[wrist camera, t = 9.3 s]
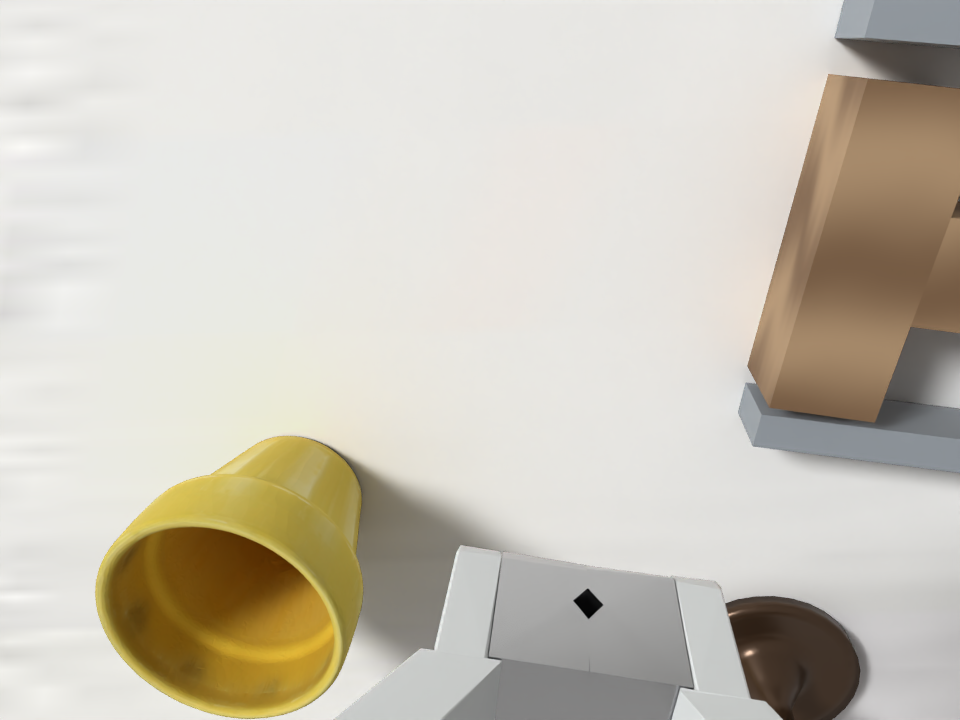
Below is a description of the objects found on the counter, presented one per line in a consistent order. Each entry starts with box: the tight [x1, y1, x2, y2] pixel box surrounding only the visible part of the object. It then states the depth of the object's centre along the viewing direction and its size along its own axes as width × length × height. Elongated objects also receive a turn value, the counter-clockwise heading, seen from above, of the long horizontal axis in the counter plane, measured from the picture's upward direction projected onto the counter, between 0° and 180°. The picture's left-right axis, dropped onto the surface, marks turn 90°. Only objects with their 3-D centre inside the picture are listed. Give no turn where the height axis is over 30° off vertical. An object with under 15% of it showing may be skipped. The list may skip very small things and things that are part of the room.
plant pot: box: [95, 436, 363, 719], centre depth 33 cm, size 10×10×10 cm
